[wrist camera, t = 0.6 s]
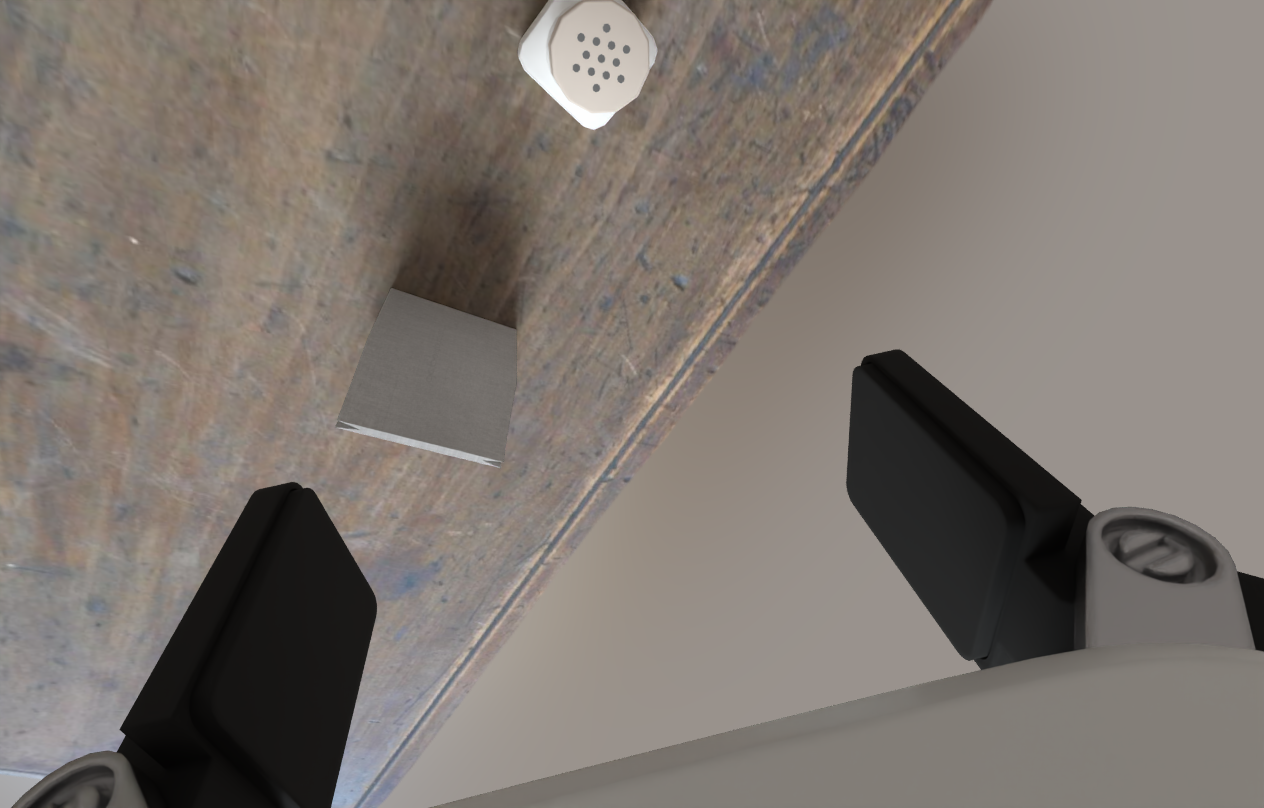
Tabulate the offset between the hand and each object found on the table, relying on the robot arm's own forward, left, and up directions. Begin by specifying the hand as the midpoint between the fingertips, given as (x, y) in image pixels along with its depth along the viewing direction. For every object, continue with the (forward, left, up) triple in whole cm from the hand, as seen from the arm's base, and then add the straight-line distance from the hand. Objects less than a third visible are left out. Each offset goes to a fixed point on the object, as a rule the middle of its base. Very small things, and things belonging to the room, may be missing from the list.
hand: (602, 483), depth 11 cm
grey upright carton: (+9, -4, -23) cm, 25 cm away
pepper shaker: (-6, +1, -23) cm, 24 cm away
